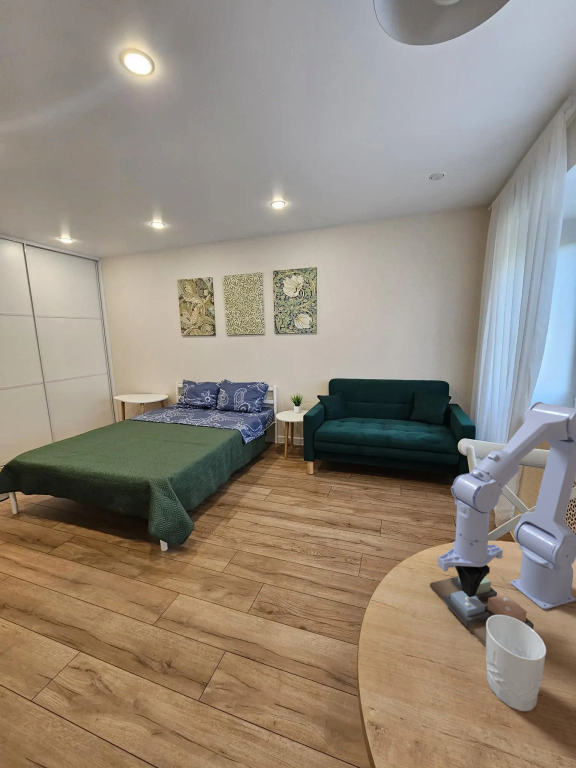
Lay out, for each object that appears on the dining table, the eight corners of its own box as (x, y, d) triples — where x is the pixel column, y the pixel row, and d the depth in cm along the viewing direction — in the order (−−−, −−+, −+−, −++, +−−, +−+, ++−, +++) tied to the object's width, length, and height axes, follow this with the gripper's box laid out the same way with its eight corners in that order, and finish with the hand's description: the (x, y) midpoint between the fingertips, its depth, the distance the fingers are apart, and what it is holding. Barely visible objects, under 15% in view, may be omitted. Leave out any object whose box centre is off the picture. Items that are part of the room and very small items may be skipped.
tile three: (467, 599, 68) (467, 588, 67) (484, 616, 63) (485, 605, 63) (450, 603, 67) (450, 592, 66) (466, 621, 62) (467, 609, 62)
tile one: (473, 577, 73) (474, 566, 72) (490, 591, 68) (491, 580, 68) (457, 580, 72) (458, 570, 71) (473, 595, 67) (474, 584, 67)
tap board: (468, 577, 75) (469, 568, 75) (539, 641, 59) (540, 630, 59) (426, 587, 73) (427, 578, 72) (489, 657, 56) (490, 645, 56)
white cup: (552, 722, 46) (558, 664, 45) (494, 710, 48) (499, 654, 47) (523, 668, 54) (528, 618, 53) (475, 660, 56) (478, 611, 55)
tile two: (504, 604, 65) (505, 592, 65) (525, 622, 61) (526, 610, 60) (487, 608, 64) (488, 597, 64) (507, 627, 60) (508, 615, 59)
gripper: (483, 517, 68) (480, 572, 70) (428, 528, 65) (426, 585, 67) (513, 536, 62) (509, 597, 63) (453, 549, 58) (450, 613, 60)
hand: (468, 593), depth 65 cm, fingers closed
